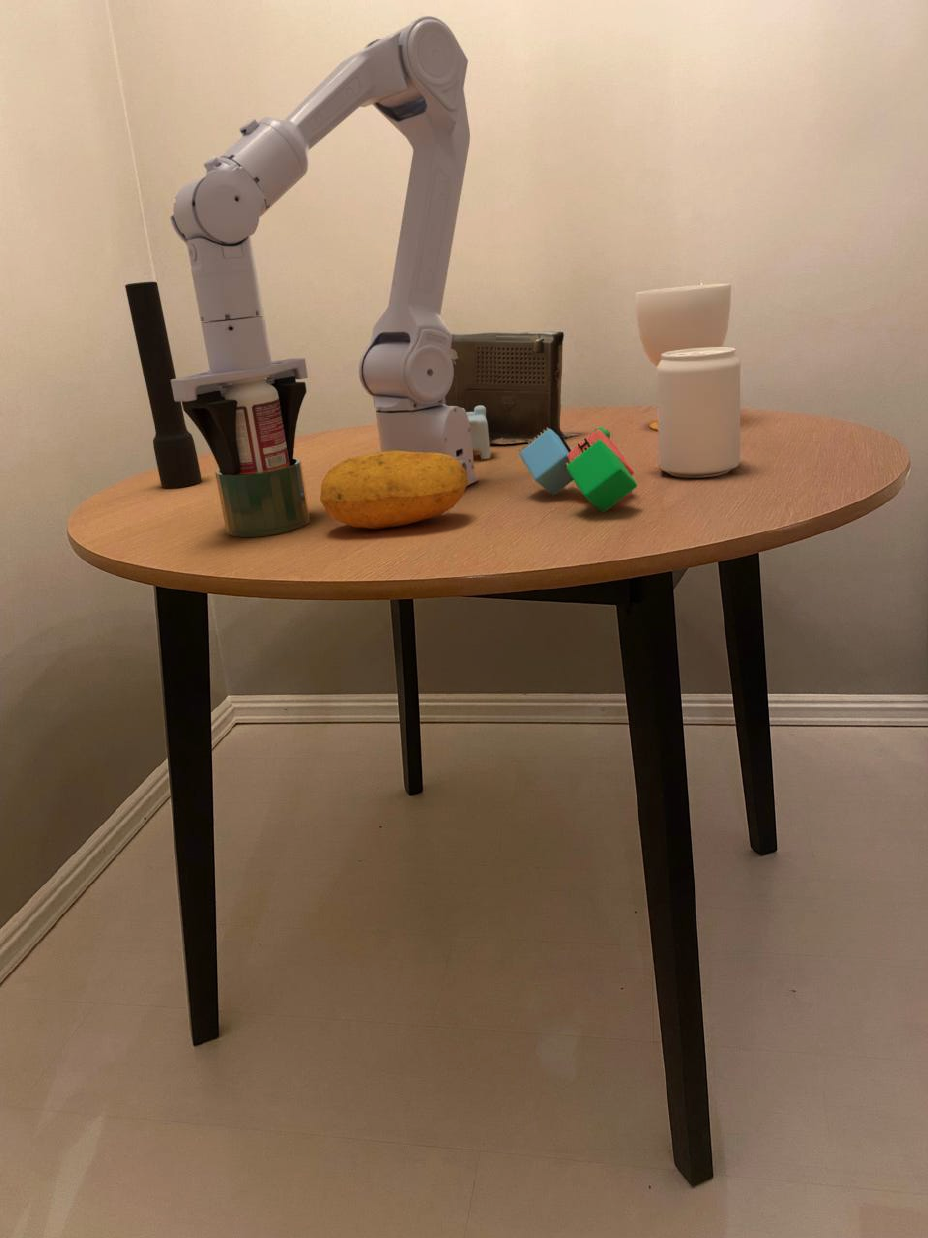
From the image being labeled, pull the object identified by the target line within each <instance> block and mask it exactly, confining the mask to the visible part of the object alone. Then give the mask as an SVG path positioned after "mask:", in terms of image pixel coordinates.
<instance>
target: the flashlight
mask: <svg viewBox="0 0 928 1238" xmlns="http://www.w3.org/2000/svg"><path fill="white" fill-rule="evenodd" d="M124 289H125V293H126V298H127V302H128V308H129V312H130V316H131V321H132V327H133V331H134V336H135V340H136V345H137V350H138V355H139V359H140V364H141V369H142V374H143V379H144V383H145V387H146V392H147V397H148V401H149V407H150V412H151V417H152V421H153V427H154V432H155V433H154V434H155V436H154V437H153V439H152V445H153V447H152V448H153V452H154V457H155V463H156V466H157V471H158V476H159V481H160V486H161V488H162V489H179V488H187V487H191V486H195V485H198V484H200V483H202V482H203V478H202V473H201V468H200V467H201V466H200V463H199V458H198V453H197V449H196V444H195V439H194V437H193V434H192V433H191V432H189V430H188V429H187V425H186V421H185V415H184V410H183V406H182V401H175V400H174V395H173V390H172V385H171V380H172V379H177V375H176V370H175V366H174V365H175V364H174V360H173V354H172V350H171V346H170V340H169V335H168V330H167V325H166V320H165V316H164V311H163V305H162V301H161V296H160V295H161V294H160V291H159V290H160V289H159V285H158V282H157V281H141V282H133V283H127V284H125V285H124Z"/></svg>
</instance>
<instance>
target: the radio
mask: <svg viewBox="0 0 928 1238" xmlns="http://www.w3.org/2000/svg"><path fill="white" fill-rule="evenodd" d="M451 334H452V342H451V358H452V363H453V369H454V376H453V382H452V385H451V387H450V390H449V391H448V393H447V394H446V395H445V402H446V404H445V405H447V406H458V407H460V408H464V409H465V411H466V412H474V408H475V407H476V406H484V407H485V408H486V420H487V422H488V432H489V444H490V445H507V444H510V445H511V444H519V443H520V444H521V443H528V442H530V443H532V442H531V440H533V441H534V440H535V439H534V437H536V439H537V438H538V437H537V435H539V436H540V435H541V434H540V432H542V434H543V433H544V432H543V430H545V431H546V430H547V429H546V428H547V427H548V428H549V429H551V430H552V431H553V432H555V433H556V434H557V435H558V433H559V435H560V436H561V437H563V439H566V438H569V437H574V436H579V434H578V433H569V432H563V431H562V430H561V411H562V404H561V403H562V399H561V398H562V396H561V395H562V377H563V342H564V337H565V334H564V331H545V330H544V331H524V332H503V331H502V332H500V331H499V332H497V331H496V332H494V331H493V332H479V333H451Z"/></svg>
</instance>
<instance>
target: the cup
mask: <svg viewBox="0 0 928 1238" xmlns="http://www.w3.org/2000/svg"><path fill="white" fill-rule="evenodd" d="M634 297H635V311H636V319H637V326H638V334H639V339H640V342H641V346H642V349H643V352H644V353H645V355H646V356H647V358H648V359H649V360H650V362H651V363H652V364H653V365H654V366H655V367H658V365H659V363H660V361H661V360H662V357H661V355H662V354H663V353H666V352H670V351H676V350H683V349H693V348H707V347H724V344H725V341H726V337H727V333H728V327H729V321H730V320H729V319H730V312H731V297H732V284H731V283H710V284H709V283H708V284H696V285H687V286H686V285H685V286H684V285H683V286H676V287H664V288H657V289H656V288H655V289H648V290H642V291H636V292H635V295H634ZM649 428H650V429H652V430H655V431H658V420H657V421H654V422H652V423H650V424H649Z"/></svg>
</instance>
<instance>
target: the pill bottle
mask: <svg viewBox="0 0 928 1238" xmlns="http://www.w3.org/2000/svg"><path fill="white" fill-rule="evenodd" d="M269 376H270V375H268V376H264V377H258V378H252V379H245V380H238V381H232V383H233V385H230V386H220V388H221V387H229V388H228V390H227V392H226V393H223V394H221V397H223V396H224V397H225V400H236V401H237V409H236V441H237V447H238V453H239V460H240V473H237V474H232V475H238V474H251V473H260V472H266V471H272V470H277V469H281V468H284V467H288V466H290V463H289V457H288V451H287V445H286V439H285V433H284V427H283V421H282V415H281V409H280V402H279V397H278V392H277V390H276V389H275V388H274V387H273V386H272V385H270V384H268V383H266V381H265V379H267V377H269Z"/></svg>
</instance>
